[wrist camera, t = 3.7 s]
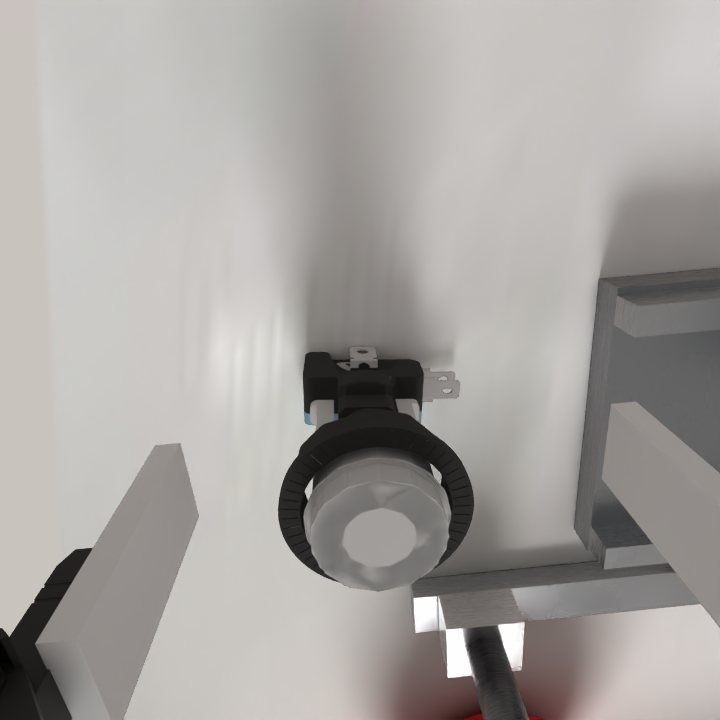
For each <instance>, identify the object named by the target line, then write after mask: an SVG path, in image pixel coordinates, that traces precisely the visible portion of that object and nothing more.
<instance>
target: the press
mask: <svg viewBox="0 0 720 720" xmlns="http://www.w3.org/2000/svg"><path fill="white" fill-rule="evenodd" d="M626 402H637V403H638V404H640V405H641V406H642V407H643V408H644V409H645V410H647V411H648V412H649V413H650V414H651V415H652V416H654V417H655V418H656V419H657V420H658V421H659V422H661V423H662V424H663V425H664V426H665V427H666V428H668V429H669V430H670V431H671V432H672V433H673V434H675V435H676V436H677V437H678V438H679V439H680V440H682V441H683V442H684V443H685V444H686V445H687V446H689V447H690V448H691V449H692V450H693V451H694V452H696V453H697V454H698V455H699V456H700V457H701V458H703V459H704V460H705V461H706V462H707V463H708V464H710V465H711V466H712V467H713V468H714V469H715V470H717V471H718V472H719V473H720V268H713V269H702V270H691V271H680V272H669V273H659V274H648V275H637V276H626V277H615V278H604V279H599V285H598V295H597V305H596V315H595V325H594V335H593V345H592V355H591V365H590V375H589V385H588V395H587V405H586V415H585V425H584V435H583V445H582V455H581V466H580V476H579V486H578V496H577V506H576V516H575V526H574V530H575V531H576V533H577V535H578V536H579V538H580V539H581V541H582V542H583V544H584V546H585V547H586V549H587V550H588V551H589V550H591V551H592V552H593V554H594V555H595V557H596V558H597V560H598V561H596V562H586V563H576V564H566V565H556V566H546V567H536V568H526V569H516V570H506V571H496V572H486V573H476V574H466V575H456V576H446V577H436V578H426V579H417V580H416V581H415V582H413V583H412V584H411V600H412V615H413V621H414V626H415V632H416V633H419V632H429V631H439V599H438V595H444V594H454V593H464V592H474V591H484V590H494V589H504V588H511V590H512V593H513V595H514V598H515V600H516V603H517V605H518V607H519V610H520V612H521V615H522V617H523V620H524V622H527V621H537V620H547V619H557V618H567V617H577V616H586V615H596V614H606V613H616V612H626V611H636V610H645V609H655V608H665V607H675V606H685V605H695V604H701V603H700V602H699V601H698V600H697V598H696V597H695V596H694V595H693V593H692V592H691V591H690V590H689V588H688V587H687V586H686V584H685V583H684V582H683V581H682V579H681V578H680V577H679V576H678V574H677V573H676V572H675V571H674V569H673V568H672V567H671V566H670V564H669V563H668V562H667V561H666V559H665V558H664V557H663V556H662V554H661V553H660V552H659V550H658V549H657V548H656V547H655V545H654V544H653V543H652V542H651V540H650V539H649V538H648V537H647V535H646V534H645V533H644V532H643V530H642V529H641V528H640V527H639V525H638V524H637V523H636V521H635V520H634V519H633V518H632V516H631V515H630V514H629V513H628V511H627V510H626V509H625V508H624V506H623V505H622V504H621V503H620V501H619V500H618V499H617V498H616V496H615V495H614V494H613V492H612V491H611V490H610V489H609V487H608V486H607V485H606V484H605V482H604V481H603V480H602V471H603V463H604V455H605V448H606V440H607V432H608V424H609V416H610V409H611V404H615V403H626Z"/></svg>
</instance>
